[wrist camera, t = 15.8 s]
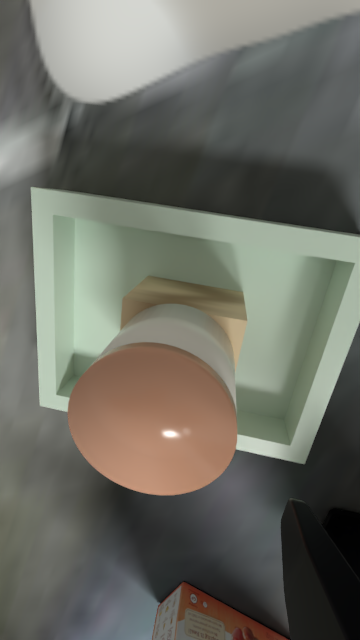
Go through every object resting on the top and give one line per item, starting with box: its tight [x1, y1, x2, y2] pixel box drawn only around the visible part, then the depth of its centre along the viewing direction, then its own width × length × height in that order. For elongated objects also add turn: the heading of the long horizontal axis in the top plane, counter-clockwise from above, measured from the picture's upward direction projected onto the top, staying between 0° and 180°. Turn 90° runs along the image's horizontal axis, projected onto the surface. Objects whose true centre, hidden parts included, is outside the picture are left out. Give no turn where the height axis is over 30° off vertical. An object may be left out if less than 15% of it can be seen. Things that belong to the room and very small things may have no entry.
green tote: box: [31, 187, 360, 464], centre depth 19 cm, size 18×14×4 cm
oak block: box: [120, 276, 247, 372], centre depth 18 cm, size 6×6×5 cm
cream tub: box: [68, 304, 237, 495], centre depth 13 cm, size 6×6×5 cm
